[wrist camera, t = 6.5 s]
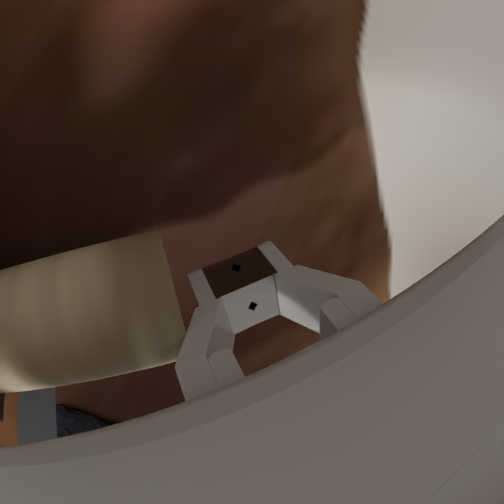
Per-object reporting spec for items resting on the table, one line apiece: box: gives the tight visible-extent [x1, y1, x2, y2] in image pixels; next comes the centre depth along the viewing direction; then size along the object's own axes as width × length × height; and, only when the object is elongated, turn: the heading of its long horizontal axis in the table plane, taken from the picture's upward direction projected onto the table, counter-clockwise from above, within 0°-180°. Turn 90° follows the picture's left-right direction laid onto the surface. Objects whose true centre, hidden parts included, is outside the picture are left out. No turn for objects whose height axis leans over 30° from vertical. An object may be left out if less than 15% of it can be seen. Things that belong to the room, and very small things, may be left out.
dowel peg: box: [0, 230, 186, 394], centre depth 7 cm, size 4×12×4 cm, turn 89°
